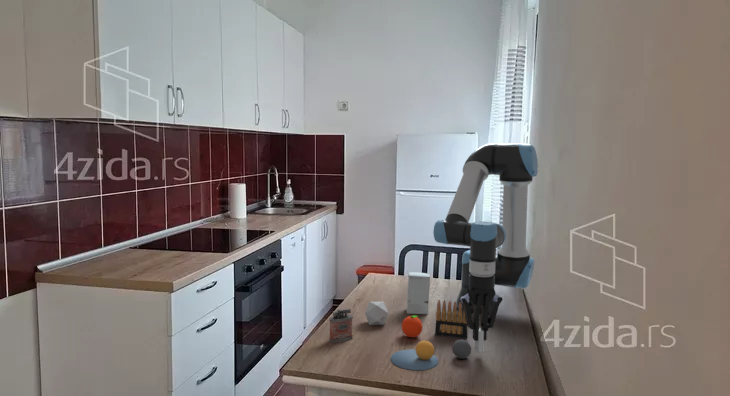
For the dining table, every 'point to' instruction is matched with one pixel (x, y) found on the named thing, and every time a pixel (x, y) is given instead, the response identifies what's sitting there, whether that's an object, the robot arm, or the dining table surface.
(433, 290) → the dining table surface
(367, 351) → the dining table surface
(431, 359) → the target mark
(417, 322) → the clementine
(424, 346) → the orange ball
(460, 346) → the dark grey sphere
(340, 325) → the lighter
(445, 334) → the ammunition clip
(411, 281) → the skincare box
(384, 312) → the die
